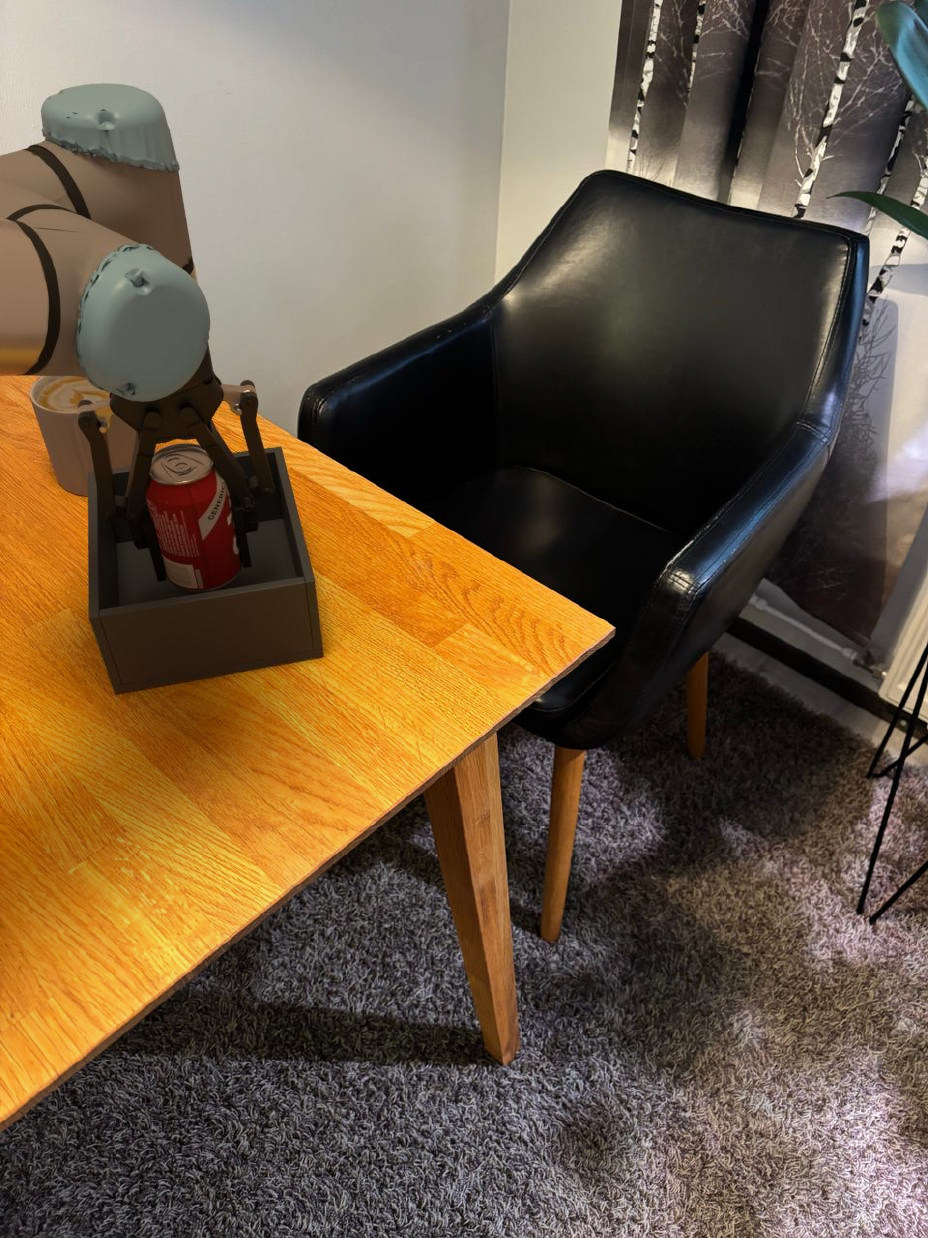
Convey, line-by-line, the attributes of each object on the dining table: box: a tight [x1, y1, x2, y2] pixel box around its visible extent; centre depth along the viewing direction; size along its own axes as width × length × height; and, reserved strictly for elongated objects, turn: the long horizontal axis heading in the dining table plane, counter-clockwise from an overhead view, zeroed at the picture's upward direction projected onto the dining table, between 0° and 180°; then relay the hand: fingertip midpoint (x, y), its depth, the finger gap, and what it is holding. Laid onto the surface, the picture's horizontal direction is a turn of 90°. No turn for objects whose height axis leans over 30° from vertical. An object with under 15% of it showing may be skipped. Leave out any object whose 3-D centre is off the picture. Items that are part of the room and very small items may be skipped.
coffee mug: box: [28, 376, 136, 497], centre depth 101 cm, size 13×10×10 cm
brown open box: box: [87, 445, 324, 695], centre depth 86 cm, size 18×20×9 cm
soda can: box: [145, 442, 243, 592], centre depth 83 cm, size 7×7×12 cm
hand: (204, 564), depth 86 cm, fingers closed on soda can, 7 cm apart
